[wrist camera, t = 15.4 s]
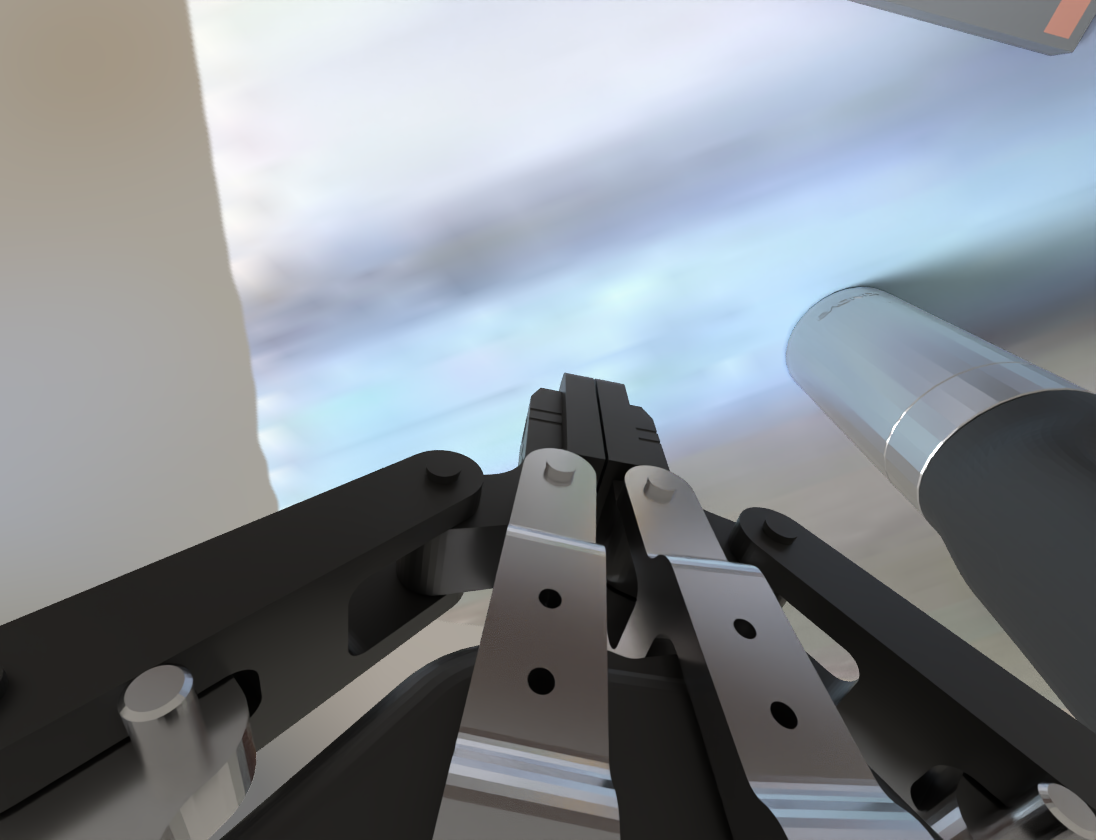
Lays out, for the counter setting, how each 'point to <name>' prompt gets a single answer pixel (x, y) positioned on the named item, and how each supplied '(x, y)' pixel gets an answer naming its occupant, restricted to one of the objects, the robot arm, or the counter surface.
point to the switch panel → (1005, 19)
